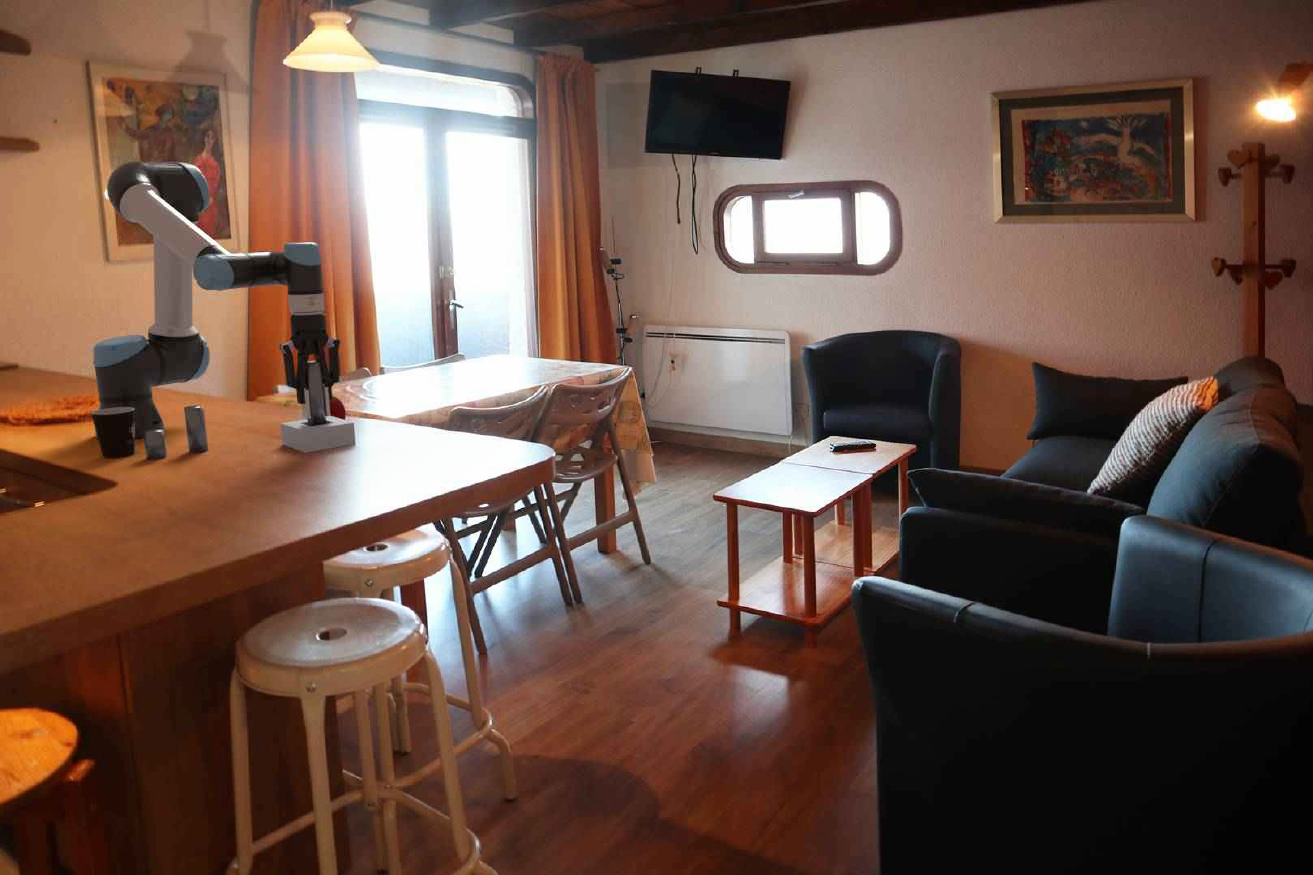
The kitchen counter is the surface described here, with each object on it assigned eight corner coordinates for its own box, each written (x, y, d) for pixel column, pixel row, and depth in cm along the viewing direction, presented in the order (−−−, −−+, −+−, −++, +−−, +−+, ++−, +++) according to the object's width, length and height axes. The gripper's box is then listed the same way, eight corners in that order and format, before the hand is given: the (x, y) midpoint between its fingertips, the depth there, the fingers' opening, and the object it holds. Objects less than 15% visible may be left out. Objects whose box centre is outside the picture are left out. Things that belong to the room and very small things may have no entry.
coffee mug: (122, 460, 234) (117, 414, 232) (88, 459, 235) (82, 414, 233) (157, 448, 245) (152, 405, 243) (123, 447, 247) (118, 404, 244)
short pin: (144, 457, 236) (140, 430, 234) (163, 454, 238) (160, 428, 237) (150, 460, 233) (146, 433, 231) (169, 457, 235) (166, 430, 234)
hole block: (282, 444, 246) (280, 423, 245) (332, 436, 254) (330, 415, 253) (305, 452, 237) (303, 430, 236) (355, 444, 245) (353, 422, 244)
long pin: (313, 434, 242) (307, 364, 239) (305, 432, 245) (299, 362, 242) (330, 431, 245) (324, 362, 241) (322, 429, 248) (316, 360, 244)
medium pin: (186, 450, 241) (181, 407, 239) (204, 448, 244) (199, 404, 242) (192, 453, 239) (187, 409, 236) (211, 450, 241) (206, 406, 239)
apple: (341, 425, 267) (337, 385, 264) (351, 431, 259) (348, 390, 257) (303, 430, 262) (299, 389, 260) (312, 436, 254) (308, 395, 252)
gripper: (277, 317, 231) (287, 424, 236) (350, 311, 242) (358, 413, 247) (263, 315, 236) (273, 419, 241) (335, 309, 247) (343, 409, 252)
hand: (316, 416), depth 244 cm, fingers closed on long pin, 4 cm apart
